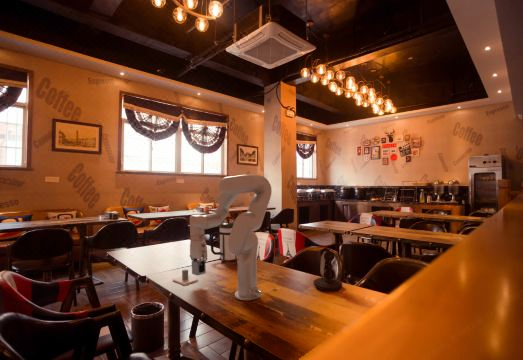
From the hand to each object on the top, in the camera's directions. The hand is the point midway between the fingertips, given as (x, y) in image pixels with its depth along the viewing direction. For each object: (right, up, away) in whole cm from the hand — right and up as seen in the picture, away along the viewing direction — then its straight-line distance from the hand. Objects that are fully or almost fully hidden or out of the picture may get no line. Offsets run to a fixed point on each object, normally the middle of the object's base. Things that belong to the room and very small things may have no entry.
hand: (198, 270), depth 153 cm
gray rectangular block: (0, -2, 0) cm, 2 cm away
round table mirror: (+69, -8, -4) cm, 70 cm away
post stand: (-10, -9, +8) cm, 15 cm away
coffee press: (+9, -9, +49) cm, 51 cm away
